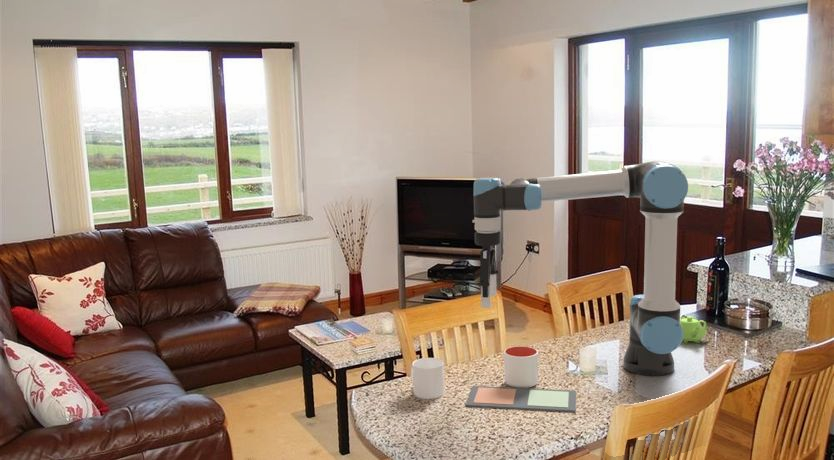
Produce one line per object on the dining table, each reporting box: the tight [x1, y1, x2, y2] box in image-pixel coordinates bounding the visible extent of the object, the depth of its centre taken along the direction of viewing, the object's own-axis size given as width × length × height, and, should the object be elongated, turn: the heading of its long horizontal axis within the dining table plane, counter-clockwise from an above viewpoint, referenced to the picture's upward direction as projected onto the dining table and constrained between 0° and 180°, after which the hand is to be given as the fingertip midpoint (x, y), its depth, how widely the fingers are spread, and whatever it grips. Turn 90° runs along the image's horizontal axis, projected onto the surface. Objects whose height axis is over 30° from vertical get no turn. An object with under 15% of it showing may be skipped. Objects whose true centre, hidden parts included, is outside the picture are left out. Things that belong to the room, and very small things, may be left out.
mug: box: [410, 357, 445, 400], centre depth 214 cm, size 12×9×9 cm
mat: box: [465, 385, 577, 413], centre depth 207 cm, size 30×14×1 cm, turn 77°
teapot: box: [680, 315, 708, 344], centre depth 251 cm, size 11×12×8 cm
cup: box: [503, 345, 539, 388], centre depth 218 cm, size 10×10×10 cm
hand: (488, 301), depth 217 cm, fingers open, 13 cm apart
